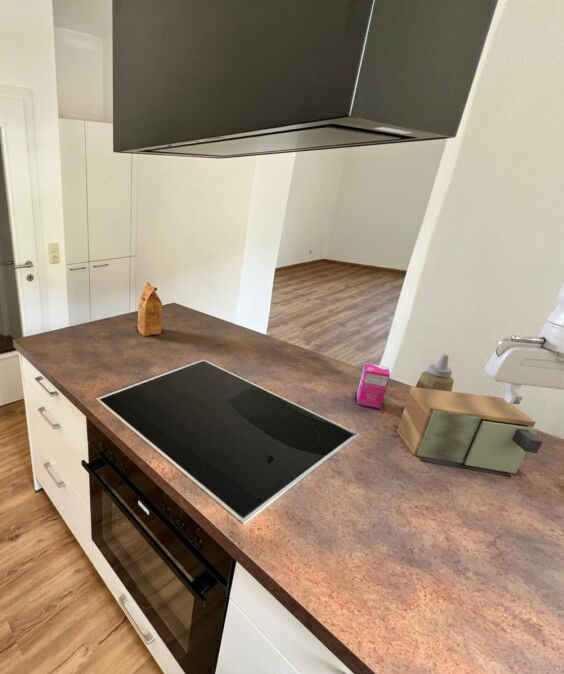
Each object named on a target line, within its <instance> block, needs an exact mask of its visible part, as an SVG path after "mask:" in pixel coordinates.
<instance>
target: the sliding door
mask: <svg viewBox="0 0 564 674" xmlns="http://www.w3.org/2000/svg"><path fill="white" fill-rule="evenodd" d="M538 430H539V429H537V428H536V427H533V428H531V427H524V426H516V425H509V424H502V423H495V422H488V421H482V423H481V425H480V427H479V430H478V432H477V434H476V437H475V439H474V441H473V444H472V446H471V448H470V451H469V453H468V455H467V458H466V460H465V462H464V464H465V465H469V466H475V467H481V468H486V469H492V470H498V471H504V472H509V473H510V474H517V472H518V470H519V469H520V466H521V464H522V462H523V460H524V458H525V456H526V454H527V453H532V454H538V451H539V450H540V448H541V446H542V444H543V440H541V439H540V438H539V437H538V436H536V434H537V433H538Z"/></svg>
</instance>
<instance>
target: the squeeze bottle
mask: <svg viewBox="0 0 564 674" xmlns="http://www.w3.org/2000/svg"><path fill="white" fill-rule="evenodd" d="M452 374H453V370H452V368H450V367H449V355H448V354H445V353H444V354H443V353H442V355H441V356H440V357H439V359H438V360H437V362H435V364H434V363H433V364H429V366H428V368H427V370H426V371H424V372H421V374H420V377H419V378H418V381H417V382H416V384H415V386H414V387H417V388H425V389H434V390H442V391H450V392H453V387H454V382H455V380H454V378H453V377H451V376H452Z"/></svg>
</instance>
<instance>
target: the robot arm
mask: <svg viewBox="0 0 564 674" xmlns="http://www.w3.org/2000/svg"><path fill="white" fill-rule="evenodd" d="M484 373H485V374H486V376H488V377H489V378H490V379H492V380H493V381H495V382H498V383H502V384H503V386H504V389H505V392H506V394H505V396H504V397H503V398H504V399H505V401H506V402H508V403H511V404H513V405H520V403H521V401H522V400H523V397H522V396H521V395H519V394H518V393H517V390H520V389H521V387H522V386H529V387H537V388H538V387H539V388H547V389H554V390H561V391H562V390H563V391H564V282H563V284H562V285H561V287H560V290H559V292H558V293H557V296H556V305H555V307H554V309H553V311H552V312H551V313H550V314H549V315H548V316H547V317H546V319H545V321H544V323H543V325H542V328H541V330H540V332H539V334H538V336H523V335H519V334H518V335H517V334H516V335H515V334H514V335H511V336H509V337H505V338H503V339H501V340H499V341H498V343H497V345H496V347H495V351H494V352H493V353H492V355H491V356H490V358H489V359H488V362H487V363H486V365H485V367H484Z"/></svg>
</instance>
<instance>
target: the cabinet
mask: <svg viewBox="0 0 564 674" xmlns="http://www.w3.org/2000/svg"><path fill="white" fill-rule="evenodd" d="M504 398H505V397H499V396H492V395H491V396H490V395H482V394H474V393H467V392H457V391H452V392H450V391H442V390H434V389H425V388H417V387H415V386H411V387H410V391H409V393H408V396H407V399H406V402H405V405H404V408H403V411H402V414H401V417H400V421H399V424H398V426H397V429H396V432H397V434H398V435H399V436H400V438H401V439H402V441H403V442H404V444H405V445H406V447H407V449H408V450H409V451H410V453H411V455H412V456H414V457H419V460H420V461H421V462H422V463H429V464H434V465H441V466H445V467H452V468H457V469H464V470H469V471H476V472H480V473H487V474H493V475H499V476H505V477H509V478H511V477H512V473H510V472H504V471H498V470H492V469H486V468H481V467H475V466H469V465H465V464H464V462H465V460H466V458H467V455H468V453H469V451H470V448H471V446H472V444H473V441H474V439H475V437H476V434H477V432H478V430H479V427H480V425H481V423H482V421H488V422H495V423H502V424H509V425H516V426H524V427H531V428H535V425H536V423H537V422H536V421H535V420H534V419H532V418H531V417H530V416H528V414H526V413H525V412H523V410H520V409H519V408H518V407H517V406H516V405H515V404H511V403H508V402H506V401H505V399H504Z"/></svg>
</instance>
